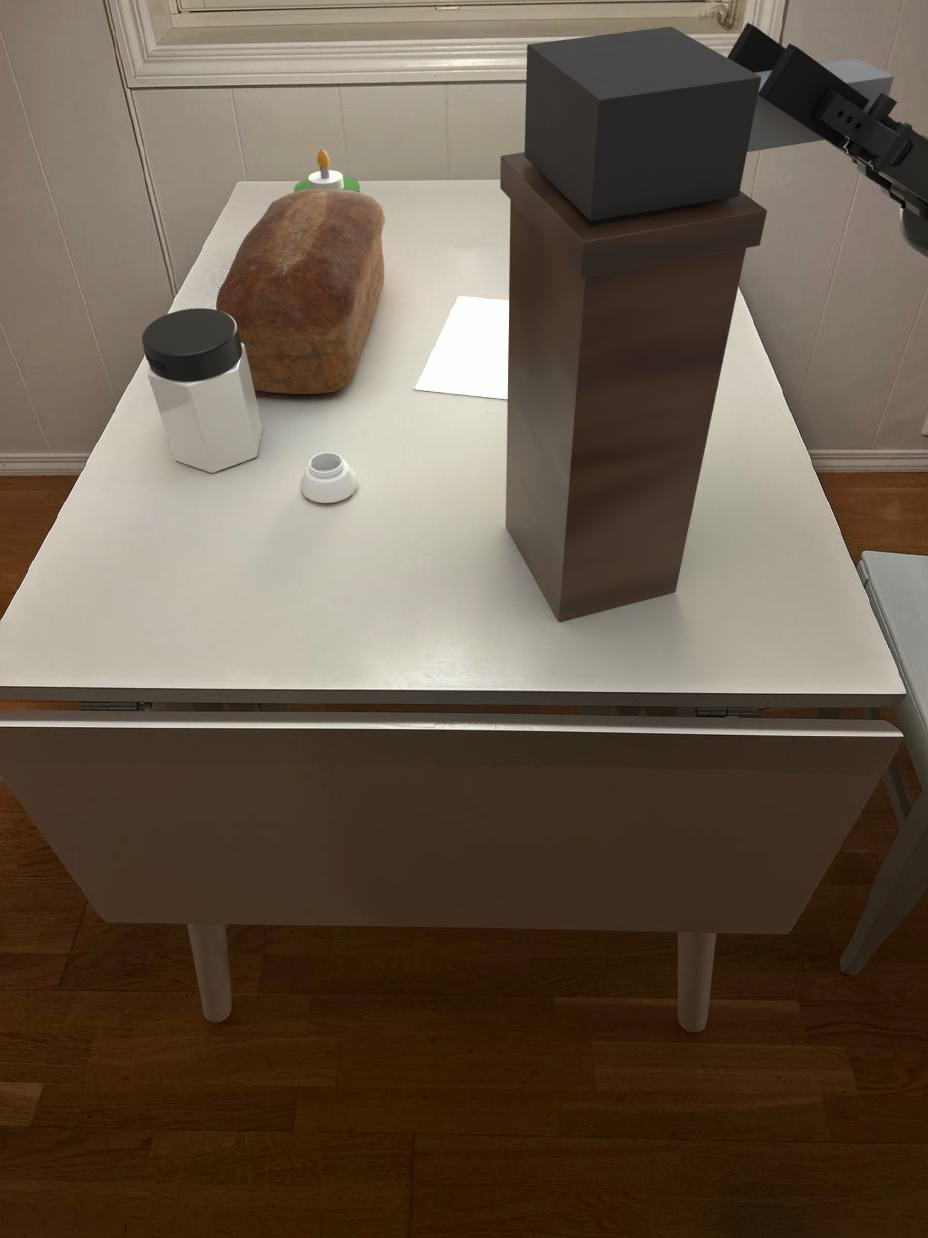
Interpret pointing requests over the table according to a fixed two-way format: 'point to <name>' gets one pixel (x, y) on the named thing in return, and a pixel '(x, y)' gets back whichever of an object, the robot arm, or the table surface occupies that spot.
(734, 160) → the sledgehammer head
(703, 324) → the stand
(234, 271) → the bread
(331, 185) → the candle
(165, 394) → the jar
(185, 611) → the table surface
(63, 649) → the table surface
